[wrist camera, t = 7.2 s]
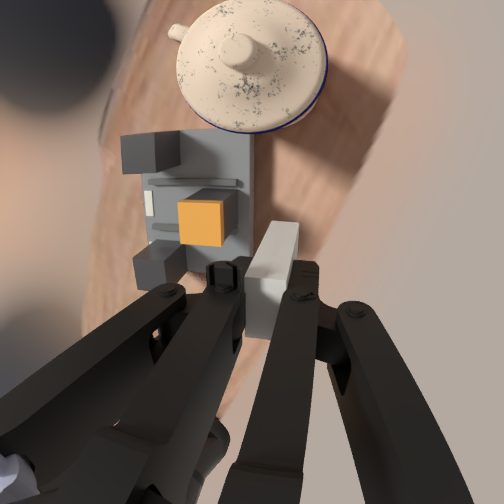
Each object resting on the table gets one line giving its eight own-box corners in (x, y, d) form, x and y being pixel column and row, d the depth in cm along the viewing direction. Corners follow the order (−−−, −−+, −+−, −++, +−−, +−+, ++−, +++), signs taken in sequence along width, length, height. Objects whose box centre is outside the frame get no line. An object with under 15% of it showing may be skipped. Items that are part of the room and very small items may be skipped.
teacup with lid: (344, 66, 22) (364, 24, 11) (287, 152, 25) (267, 170, 15) (223, 6, 21) (168, -51, 11) (173, 87, 25) (93, 74, 14)
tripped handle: (238, 224, 27) (221, 247, 22) (204, 222, 27) (180, 243, 22) (238, 188, 25) (219, 203, 21) (202, 187, 26) (177, 202, 21)
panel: (253, 267, 30) (237, 303, 24) (159, 258, 32) (128, 287, 26) (254, 128, 25) (235, 128, 19) (150, 132, 27) (110, 137, 21)
